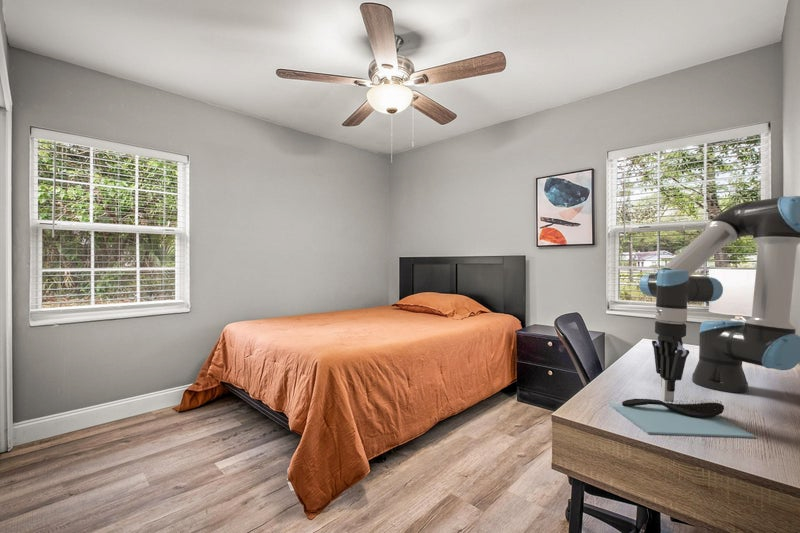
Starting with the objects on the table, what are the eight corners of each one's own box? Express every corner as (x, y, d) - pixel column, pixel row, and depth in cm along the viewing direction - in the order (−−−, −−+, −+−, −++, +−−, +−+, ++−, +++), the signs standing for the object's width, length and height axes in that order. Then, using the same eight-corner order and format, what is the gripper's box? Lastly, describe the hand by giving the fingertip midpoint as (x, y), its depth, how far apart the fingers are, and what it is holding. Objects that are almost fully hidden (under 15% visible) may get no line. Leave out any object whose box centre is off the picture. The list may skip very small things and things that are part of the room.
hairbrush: (617, 391, 114) (713, 396, 108) (618, 403, 114) (714, 408, 108) (626, 400, 106) (731, 407, 100) (627, 413, 106) (731, 420, 100)
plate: (694, 407, 112) (694, 404, 112) (755, 439, 92) (755, 435, 92) (606, 404, 113) (606, 401, 113) (647, 435, 93) (647, 431, 93)
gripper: (644, 317, 117) (641, 392, 117) (672, 325, 104) (669, 409, 104) (668, 318, 117) (665, 393, 117) (700, 326, 104) (696, 410, 104)
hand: (667, 400), depth 111 cm, fingers closed
